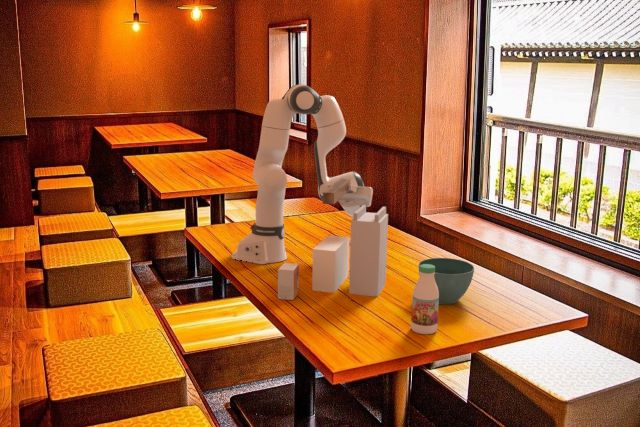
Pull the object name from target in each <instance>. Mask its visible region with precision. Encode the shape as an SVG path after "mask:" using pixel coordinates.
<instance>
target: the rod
mask: <svg viewBox="0 0 640 427" xmlns="http://www.w3.org/2000/svg"><path fill="white" fill-rule="evenodd" d="M348 184H351V179H339V180H338V181H337V182H335V183H334V184H333V185H332V186H330V187H329V188H328V189H326V190H325V191H324V192H323V201H322V204H323V205H335V204H336V203H337V202H339V201H338V200H340V199H341V198H342V197H343V196H344V195H345V194H346V193H347V192H349V191H350V190H348V188H347V187H348Z"/></svg>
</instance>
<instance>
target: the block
mask: <svg viewBox="0 0 640 427" xmlns="http://www.w3.org/2000/svg"><path fill="white" fill-rule="evenodd" d="M349 274H350V236H341V235H330V234H329V235H327V236H326V237H324V239H323V240H321V241H320V242H319V243H318V244H317V245H316V246H315V247H313V248H312V279H311V280H312V282H311V284H312V286H311V287H312V288H311V290H312V291H314V292H315V291H316V292H324V293H332V294H335V293H336V292H337V290H338V289H339V288H340V287H341V286H342V285H343V283H344V282H345V281H346V280H347V279H348V277H349Z"/></svg>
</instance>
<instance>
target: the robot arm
mask: <svg viewBox="0 0 640 427" xmlns="http://www.w3.org/2000/svg"><path fill="white" fill-rule="evenodd" d="M266 104H267V105H266V107H265V111H264V114H263V118H262V123H261V131H260V138H259V145H258V151H257V153H256V157H255V161H254V166H253V170H252V178H253V180H254V182H255V184H257V197H256V203H255V222H254V223H253V224H251V226H249V230H250V233H248V234H247V235H246V236H245V237H243V239H241V240H240V241H239V242H238V244H237V249H236V250H235V251H234V252H232V254H231V255H230V256H231V257H230V258H231V260H235V259H236V261H240V260H242V262H246V261H247V263H252V262H253V263H252V264H258V265H266V264H272V263H279V262H283V261H285V260H287V259H288V254H287V253H286V247H285V240H284V239H285V224H284V202H285V196H286V190H287V189H286V188H287V184H288V179H287V178H288V176H287V174H286V172H285V170H284V169H283V168H282V167H283V163H284V159H285V155H286V153H287V151H288V147H289V140H290V132H291V124H292V120H293V118H294V116H295V115H296V114H300V115H311V116H313V118H314V121H315V124H316V128H317V139H316V140H315V141H314V143H313V145H314V146H313V151H314V152H313V153H314V160H315V161H314V162H315V168H316V175H317V177H316V178H317V192H318V197H319V199H320V200H321V201H322V202H323V192H324V191H325V190H326V189H328V188H329V187H330V186H332V185H333V184H334V183H335V182H337V181H338V180H339V179H351V184H348V187H347V188H348V190H350V191H349V192H347V193H346V194H345V195H344V196H343V197H342V198H341V199H340V200H338V201H337V202H338V204H340V206H341V207H342V208H343V210H344V211H345V213H346V214H347V215H348V216H350V217H351V218H352V219H353V218H354V212H356V211H357V210H358V209H359V208H360V207H361V206H362V205H366V208H368V207H371V205H372V201H373V194H374V189H373V187H371V186H365V183H364V180H363V179H362V177H361V175H360V174H359V173H357V172H356V171H354V170H353V171H349V172H345V173H342V174H340V175H336V176H332V177H329V176H328V170H327V163H326V157H327V155H328V154H329V152H331V151H332V150H333V149H334V148H336V147H337V146H338V145H340V144H341V143H342V141H344V139H345V137H346V136H347V126H346V123H345V122H346V121H345V119H344V116H343V113H342V110H341V107H340V105H339V103H338V102H337V100H336V98H335V97H334V96H332V95H329V94H325V95H320V94H319V93H318V92H317V91H315V90H314V89H313V88H312V87H311V86H309V85H306V84H300V83H299V84H295V85H293V86H291V87H289V89H288V90H286V92H285V93H284V95H283V96H282V97H281V98H274V99H271V100H269V101H268V103H266Z"/></svg>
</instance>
